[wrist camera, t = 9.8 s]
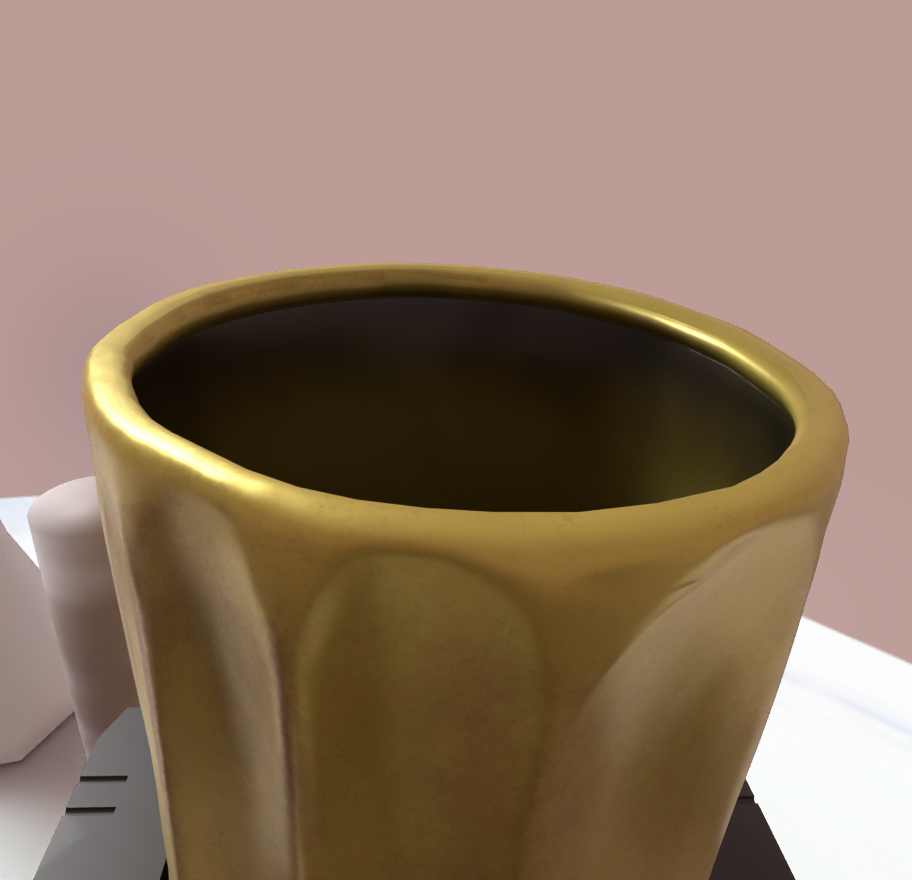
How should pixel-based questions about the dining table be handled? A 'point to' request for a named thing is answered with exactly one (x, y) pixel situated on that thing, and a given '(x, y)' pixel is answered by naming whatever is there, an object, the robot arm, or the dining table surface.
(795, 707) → the dining table surface
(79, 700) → the stand
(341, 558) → the vase
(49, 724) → the flask
